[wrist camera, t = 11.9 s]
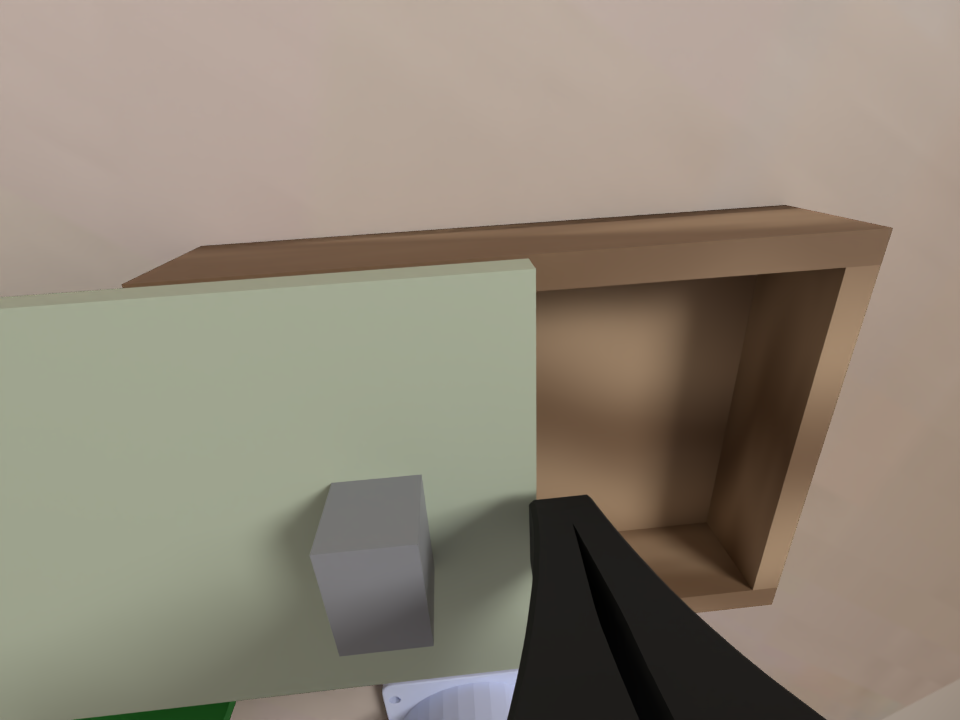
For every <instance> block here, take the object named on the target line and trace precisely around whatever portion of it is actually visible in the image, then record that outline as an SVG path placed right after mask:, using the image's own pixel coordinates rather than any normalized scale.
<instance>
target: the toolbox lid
mask: <svg viewBox="0 0 960 720" xmlns="http://www.w3.org/2000/svg"><path fill="white" fill-rule="evenodd" d="M533 500H536V268H535V267H534V265H533V264H532V263H531V261H530V260H529V258H527V259H514V260H500V261H487V262H473V263H459V264H446V265H432V266H419V267H405V268H392V269H378V270H364V271H351V272H337V273H324V274H310V275H297V276H283V277H270V278H256V279H242V280H229V281H215V282H202V283H188V284H175V285H161V286H147V287H134V288H120V289H107V290H93V291H80V292H66V293H52V294H39V295H25V296H12V297H0V720H74V719H83V718H91V717H100V716H109V715H118V714H126V713H135V712H144V711H152V710H161V709H170V708H179V707H187V706H196V705H205V704H214V703H222V702H231V701H240V700H248V699H257V698H266V697H275V696H283V695H292V694H301V693H310V692H318V691H327V690H336V689H344V688H353V687H362V686H371V685H379V684H388V683H397V682H405V681H414V680H423V679H432V678H440V677H449V676H458V675H467V674H475V673H484V672H493V671H501V670H510V669H519V665H520V660H521V655H522V650H523V644H524V639H525V633H526V627H527V620H528V612H529V604H530V597H531V589H532V578H533V577H532V570H531V563H530V531H529V504H530V503H531V502H532V501H533Z"/></svg>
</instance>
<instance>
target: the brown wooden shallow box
mask: <svg viewBox="0 0 960 720" xmlns="http://www.w3.org/2000/svg"><path fill="white" fill-rule="evenodd" d="M892 229H893V228H891V227H886V226H881V225H877V224H872V223H867V222H862V221H858V220H853V219H848V218H844V217H839V216H834V215H829V214H825V213H820V212H815V211H811V210H806V209H801V208H797V207H792V206H787V205H780V206H765V207H751V208H737V209H723V210H708V211H694V212H680V213H666V214H651V215H637V216H623V217H609V218H594V219H580V220H566V221H552V222H537V223H523V224H509V225H495V226H480V227H466V228H452V229H438V230H423V231H409V232H395V233H381V234H366V235H352V236H338V237H324V238H309V239H295V240H281V241H267V242H252V243H238V244H224V245H210V246H200V247H198V248H196V249H194V250H192V251H190V252H188V253H186V254H184V255H182V256H180V257H178V258H176V259H173V260H171V261H169V262H167V263H165V264H163V265H161V266H159V267H157V268H155V269H153V270H151V271H149V272H147V273H144V274H142V275H140V276H138V277H136V278H134V279H132V280H130V281H128V282H126V283H124V284H122V287H123V288H134V287H147V286H161V285H175V284H188V283H202V282H215V281H229V280H242V279H256V278H270V277H283V276H297V275H310V274H324V273H337V272H351V271H364V270H378V269H392V268H405V267H419V266H432V265H446V264H459V263H473V262H487V261H500V260H514V259H527V258H529V260H530V261H531V263H532V264H533V265H534V267H535V268H536V500H539V499H549V498H558V497H568V496H577V495H588V496H589V497H591V498H592V499H593V501H594V502H595V503H596V505H597V506H598V507H599V509H600V510H601V511H602V512H603V514H604V515H605V516H606V517H607V519H608V520H609V521H610V522H611V523H612V525H613V526H614V527H615V528H616V529H617V531H618V532H619V533H620V534H621V535H622V537H623V538H624V539H625V540H626V541H627V542H628V544H629V545H630V546H631V547H632V548H633V549H634V550H635V551H636V553H637V554H638V555H639V556H640V557H641V558H642V559H643V560H644V561H645V562H646V563H647V564H648V566H649V567H650V568H651V569H652V570H653V571H654V572H655V573H656V574H657V575H658V576H659V577H660V578H661V579H662V580H663V581H664V582H665V584H666V585H667V586H668V587H669V588H670V589H671V590H672V591H673V592H674V593H675V594H676V595H677V596H679V597H680V598H681V599H682V600H683V601H684V602H685V603H686V604H687V605H688V606H689V607H690V608H691V609H692V610H693V611H694V612H695V613H699V612H708V611H717V610H726V609H735V608H744V607H753V606H762V605H771V604H772V602H773V599H774V596H775V593H776V590H777V587H778V583H779V580H780V577H781V574H782V571H783V568H784V565H785V562H786V559H787V556H788V552H789V549H790V546H791V543H792V540H793V537H794V534H795V531H796V528H797V524H798V521H799V518H800V515H801V512H802V509H803V506H804V503H805V500H806V496H807V493H808V490H809V487H810V484H811V481H812V478H813V475H814V472H815V469H816V465H817V462H818V459H819V456H820V453H821V450H822V447H823V444H824V441H825V437H826V434H827V431H828V428H829V425H830V422H831V419H832V416H833V413H834V409H835V406H836V403H837V400H838V397H839V394H840V391H841V388H842V385H843V381H844V378H845V375H846V372H847V369H848V366H849V363H850V360H851V357H852V354H853V350H854V347H855V344H856V341H857V338H858V335H859V332H860V329H861V326H862V322H863V319H864V316H865V313H866V310H867V307H868V304H869V301H870V298H871V294H872V291H873V288H874V285H875V282H876V279H877V276H878V273H879V270H880V266H881V263H882V260H883V257H884V254H885V251H886V248H887V245H888V242H889V239H890V235H891V232H892Z"/></svg>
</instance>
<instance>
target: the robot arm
mask: <svg viewBox="0 0 960 720" xmlns="http://www.w3.org/2000/svg"><path fill="white" fill-rule="evenodd" d="M529 531H530V563H531V570H532V577H533V578H532V589H531V597H530V604H529V612H528V620H527V627H526V633H525V639H524V644H523V650H522V655H521V660H520V665H519V669H510V670H501V671H493V672H484V673H475V674H467V675H458V676H449V677H440V678H432V679H423V680H414V681H405V682H397V683H388V684H383V688H382V696H383V700H384V704H385V708H386V712H387V716H388V720H826V719H825V718H824V717H822V716H821V715H820V714H818V713H817V712H816V711H814V710H813V709H812V708H810V707H809V706H808V705H806V704H805V703H804V702H802V701H801V700H800V699H798V698H797V697H796V696H794V695H793V694H792V693H790V692H789V691H788V690H786V689H785V688H784V687H782V686H781V685H780V684H778V683H777V682H776V681H774V680H773V679H772V678H771V677H769V676H768V675H767V674H765V673H764V672H763V671H762V670H761V669H759V668H758V667H757V666H756V665H755V664H753V663H752V662H751V661H750V660H748V659H747V658H746V657H745V656H744V655H742V654H741V653H740V652H739V651H738V650H736V649H735V648H734V647H733V646H732V645H731V644H729V643H728V642H727V641H726V640H725V639H724V638H723V637H721V636H720V635H719V634H718V633H717V632H716V631H715V630H713V629H712V628H711V627H710V626H709V625H708V624H707V623H706V622H705V621H704V620H702V619H701V618H700V617H699V616H698V615H697V614H696V613H695V612H694V611H693V610H692V609H691V608H690V607H689V606H688V605H687V604H686V603H685V602H684V601H683V600H682V599H681V598H680V597H679V596H677V595H676V594H675V593H674V592H673V591H672V590H671V589H670V588H669V587H668V586H667V585H666V584H665V582H664V581H663V580H662V579H661V578H660V577H659V576H658V575H657V574H656V573H655V572H654V571H653V570H652V569H651V568H650V567H649V566H648V564H647V563H646V562H645V561H644V560H643V559H642V558H641V557H640V556H639V555H638V554H637V553H636V551H635V550H634V549H633V548H632V547H631V546H630V545H629V544H628V542H627V541H626V540H625V539H624V538H623V537H622V535H621V534H620V533H619V532H618V531H617V529H616V528H615V527H614V526H613V525H612V523H611V522H610V521H609V520H608V519H607V517H606V516H605V515H604V514H603V512H602V511H601V510H600V509H599V507H598V506H597V505H596V503H595V502H594V501H593V499H592V498H591V497H589V496H588V495H577V496H568V497H558V498H549V499H539V500H533V501H532V502H531V503H530V504H529Z"/></svg>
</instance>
